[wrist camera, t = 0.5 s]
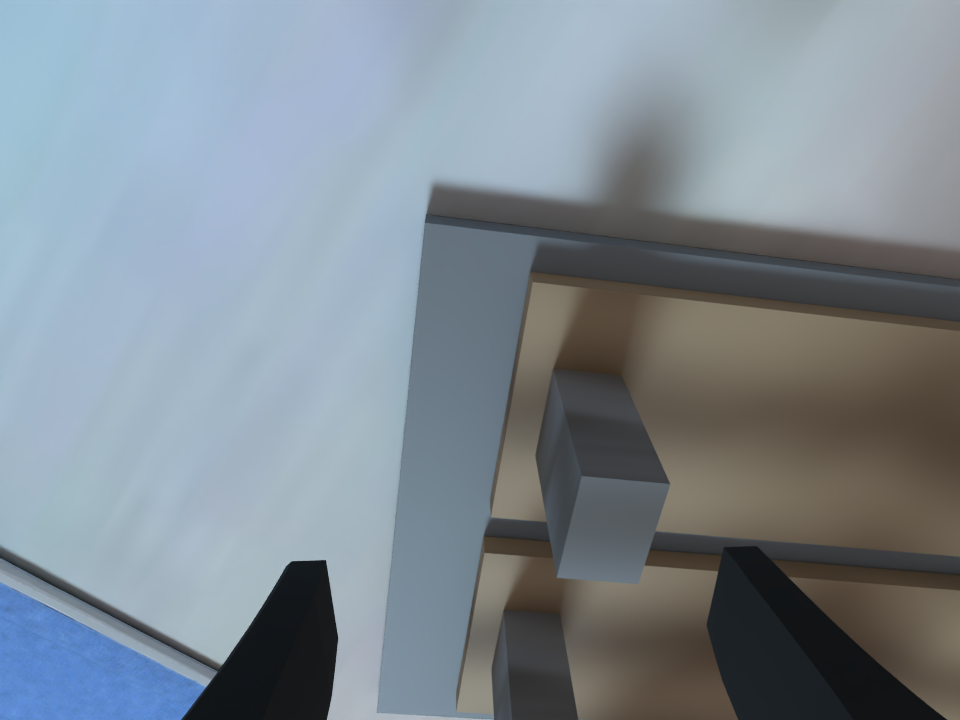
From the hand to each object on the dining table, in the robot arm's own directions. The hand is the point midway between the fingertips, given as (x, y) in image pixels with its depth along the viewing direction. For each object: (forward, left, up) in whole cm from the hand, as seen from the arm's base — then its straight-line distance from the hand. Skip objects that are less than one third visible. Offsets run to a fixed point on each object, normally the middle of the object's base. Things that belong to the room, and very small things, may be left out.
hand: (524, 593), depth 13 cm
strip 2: (-10, -14, -10) cm, 20 cm away
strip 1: (-1, -14, -10) cm, 17 cm away
